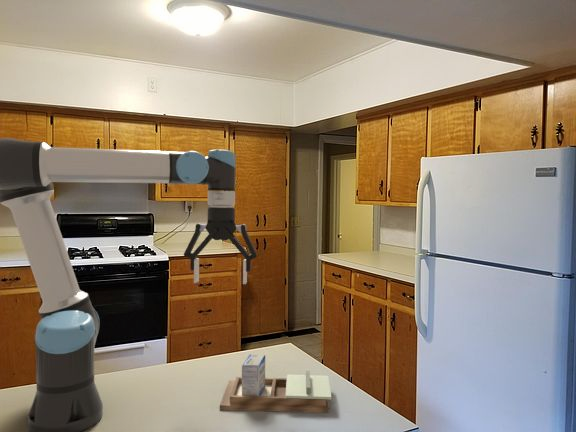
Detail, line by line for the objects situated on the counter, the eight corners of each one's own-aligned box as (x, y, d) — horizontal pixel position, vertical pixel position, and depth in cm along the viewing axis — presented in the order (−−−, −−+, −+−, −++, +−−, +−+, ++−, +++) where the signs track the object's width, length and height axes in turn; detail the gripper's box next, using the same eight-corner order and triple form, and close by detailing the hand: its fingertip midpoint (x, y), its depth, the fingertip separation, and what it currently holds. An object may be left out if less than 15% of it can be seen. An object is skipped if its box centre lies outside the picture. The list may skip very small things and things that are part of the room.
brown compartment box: (219, 409, 106) (219, 398, 106) (229, 384, 120) (229, 374, 120) (328, 412, 106) (328, 402, 105) (325, 387, 120) (325, 377, 119)
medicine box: (258, 400, 109) (259, 365, 108) (241, 399, 109) (241, 364, 109) (265, 386, 117) (265, 354, 116) (248, 385, 117) (249, 353, 117)
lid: (285, 397, 107) (285, 389, 106) (287, 376, 119) (287, 368, 119) (331, 399, 106) (331, 390, 106) (328, 377, 119) (328, 369, 118)
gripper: (172, 206, 119) (172, 284, 121) (265, 207, 119) (264, 286, 120) (180, 205, 127) (180, 278, 128) (267, 207, 126) (266, 280, 127)
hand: (220, 282), depth 124 cm, fingers open, 13 cm apart
